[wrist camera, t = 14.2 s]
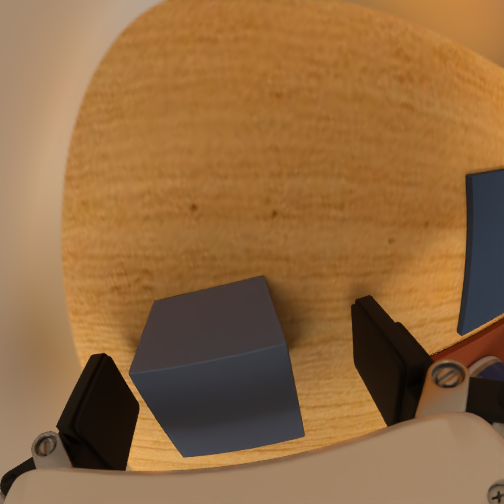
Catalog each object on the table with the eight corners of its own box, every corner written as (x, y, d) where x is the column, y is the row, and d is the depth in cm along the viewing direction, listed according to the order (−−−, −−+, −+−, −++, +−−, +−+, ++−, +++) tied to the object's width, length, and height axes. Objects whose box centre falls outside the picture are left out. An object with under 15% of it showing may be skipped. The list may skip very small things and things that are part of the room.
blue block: (189, 381, 13) (183, 458, 9) (153, 300, 12) (127, 373, 8) (283, 361, 13) (305, 436, 9) (263, 274, 12) (287, 343, 8)
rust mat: (393, 446, 18) (395, 451, 17) (407, 366, 15) (411, 371, 14) (503, 385, 18) (505, 388, 18) (530, 300, 15) (534, 303, 14)
